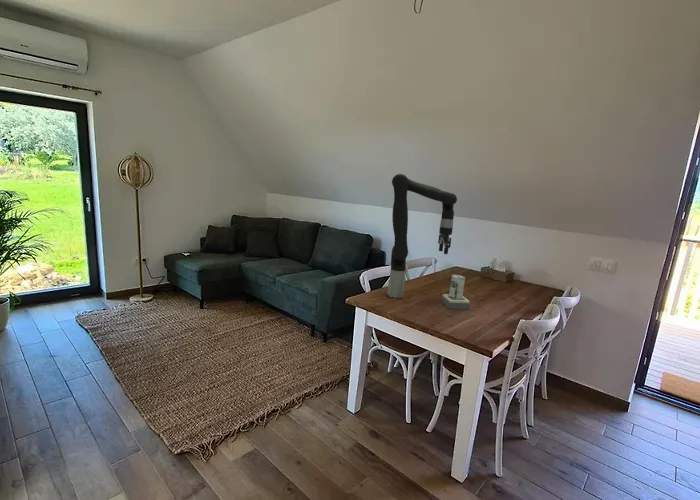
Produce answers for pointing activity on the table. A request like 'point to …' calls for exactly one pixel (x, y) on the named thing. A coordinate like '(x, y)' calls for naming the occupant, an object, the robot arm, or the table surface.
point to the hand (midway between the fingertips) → (443, 252)
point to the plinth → (455, 303)
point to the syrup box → (456, 287)
